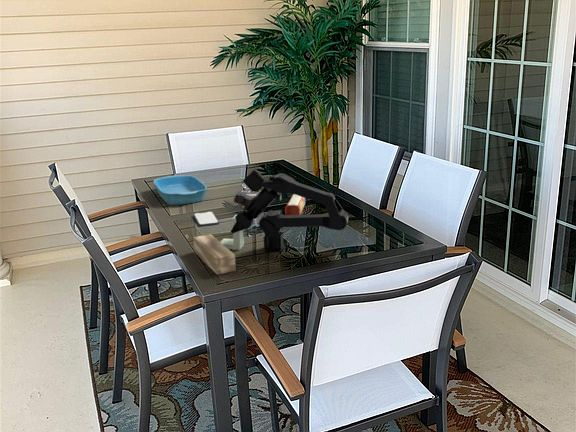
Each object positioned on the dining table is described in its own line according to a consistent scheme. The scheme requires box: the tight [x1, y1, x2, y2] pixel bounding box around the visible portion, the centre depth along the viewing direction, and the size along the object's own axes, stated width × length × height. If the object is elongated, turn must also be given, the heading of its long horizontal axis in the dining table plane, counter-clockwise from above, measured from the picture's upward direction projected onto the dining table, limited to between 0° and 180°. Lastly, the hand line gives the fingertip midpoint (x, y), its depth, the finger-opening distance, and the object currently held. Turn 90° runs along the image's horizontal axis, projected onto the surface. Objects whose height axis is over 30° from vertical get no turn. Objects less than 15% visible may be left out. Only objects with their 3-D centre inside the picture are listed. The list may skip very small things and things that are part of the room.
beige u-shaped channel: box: [192, 233, 237, 275], centre depth 204 cm, size 7×24×6 cm, turn 27°
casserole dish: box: [153, 174, 208, 206], centre depth 285 cm, size 37×22×7 cm, turn 24°
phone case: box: [193, 211, 220, 228], centre depth 250 cm, size 9×2×16 cm
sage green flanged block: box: [219, 214, 245, 251], centre depth 216 cm, size 8×6×12 cm
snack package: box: [284, 194, 306, 215], centre depth 258 cm, size 21×7×7 cm, turn 171°
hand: (234, 228), depth 216 cm, fingers open, 9 cm apart
